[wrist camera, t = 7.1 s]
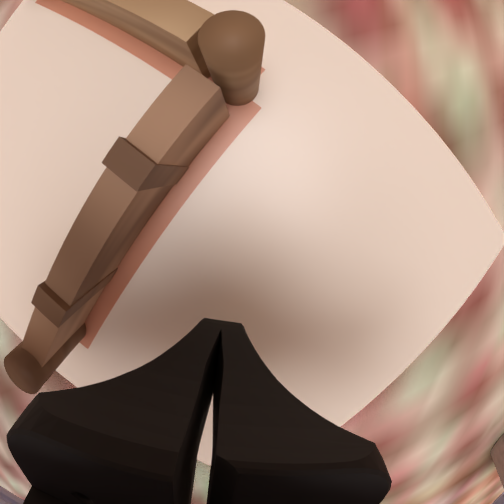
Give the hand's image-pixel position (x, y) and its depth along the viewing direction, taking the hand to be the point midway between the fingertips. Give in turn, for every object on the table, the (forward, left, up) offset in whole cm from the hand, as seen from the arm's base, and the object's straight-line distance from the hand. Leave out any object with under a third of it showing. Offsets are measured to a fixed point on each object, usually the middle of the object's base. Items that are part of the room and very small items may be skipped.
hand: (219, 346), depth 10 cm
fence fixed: (+7, +11, -1) cm, 13 cm away
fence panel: (0, +5, -1) cm, 5 cm away
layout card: (+1, +5, -2) cm, 5 cm away
